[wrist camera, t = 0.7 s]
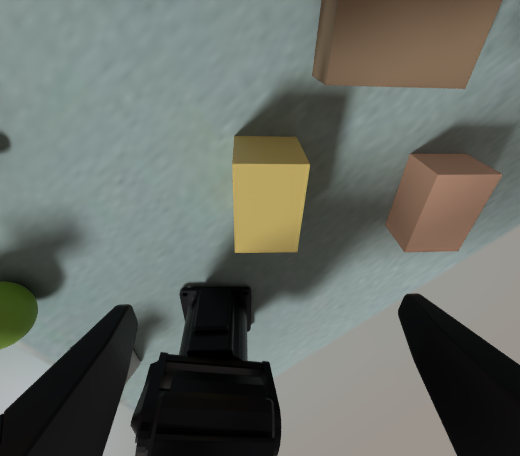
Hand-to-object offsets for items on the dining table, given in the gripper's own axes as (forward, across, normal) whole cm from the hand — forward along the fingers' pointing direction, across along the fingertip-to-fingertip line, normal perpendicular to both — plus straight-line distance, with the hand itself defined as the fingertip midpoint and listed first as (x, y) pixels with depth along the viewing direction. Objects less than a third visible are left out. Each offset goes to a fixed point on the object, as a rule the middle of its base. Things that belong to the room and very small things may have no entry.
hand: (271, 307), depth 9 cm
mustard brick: (+12, -1, +1) cm, 12 cm away
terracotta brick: (+12, -13, +2) cm, 18 cm away
